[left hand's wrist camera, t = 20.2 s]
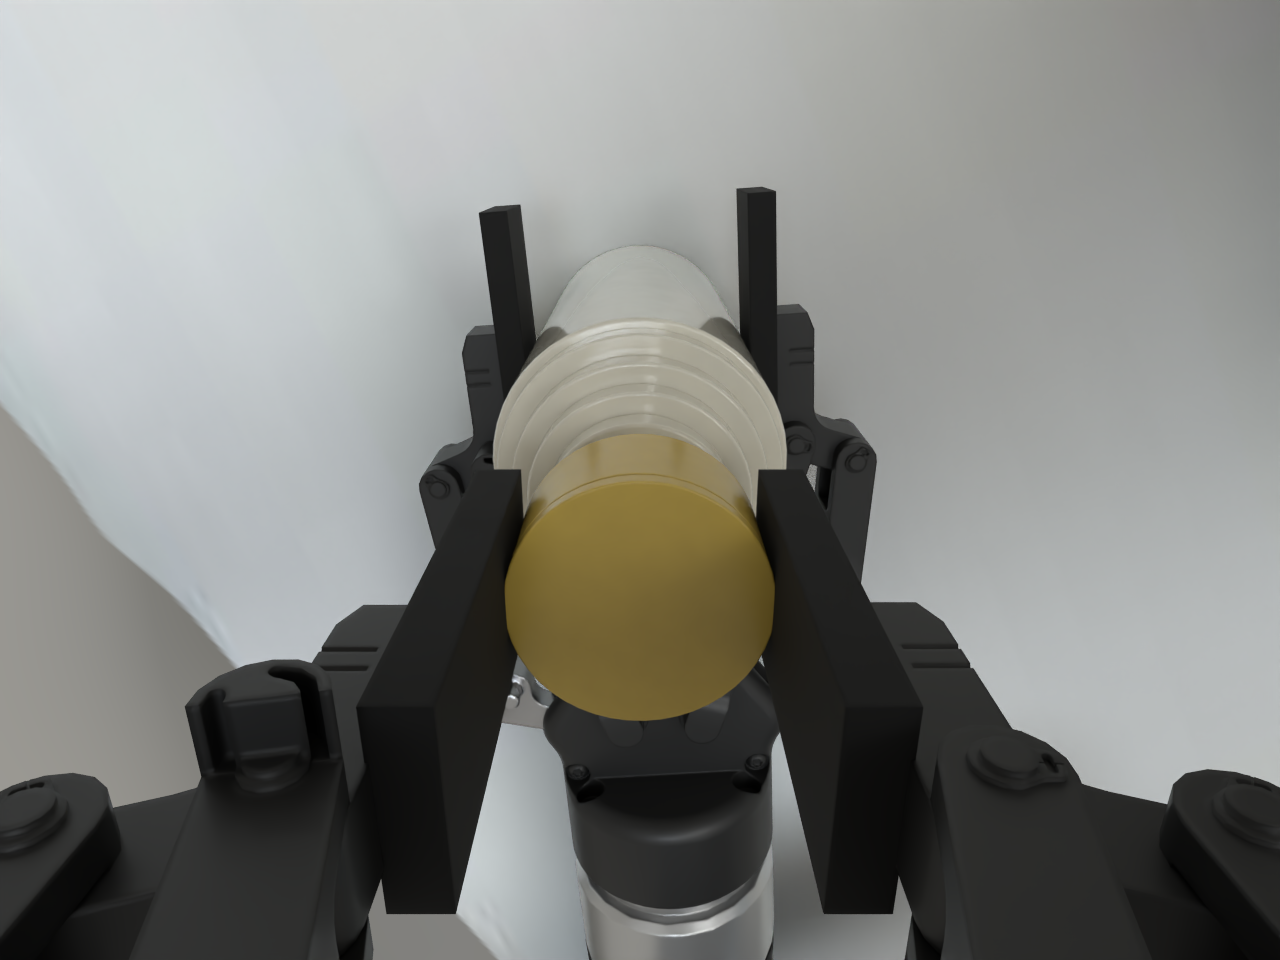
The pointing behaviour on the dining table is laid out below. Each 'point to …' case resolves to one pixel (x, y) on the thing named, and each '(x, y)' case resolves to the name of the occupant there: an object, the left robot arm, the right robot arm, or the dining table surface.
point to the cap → (639, 580)
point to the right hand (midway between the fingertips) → (627, 200)
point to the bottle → (639, 372)
